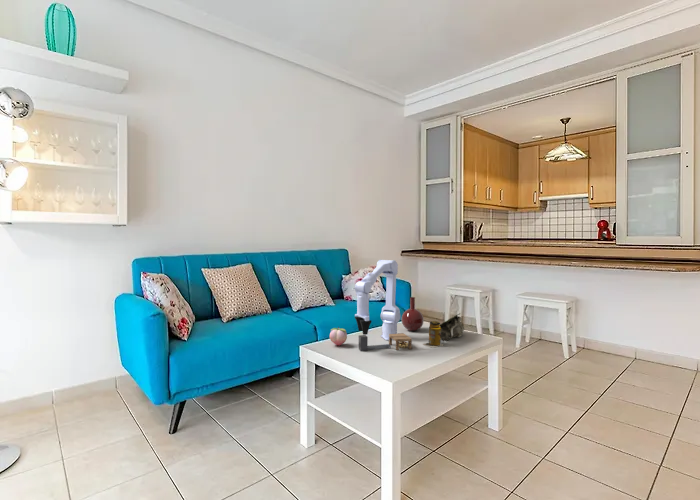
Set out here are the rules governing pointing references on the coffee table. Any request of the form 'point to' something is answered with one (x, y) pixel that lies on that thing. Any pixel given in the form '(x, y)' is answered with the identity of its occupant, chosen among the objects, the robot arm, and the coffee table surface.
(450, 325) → the hollow geode rock
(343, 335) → the decorative fruit
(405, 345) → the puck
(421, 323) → the round-bottom flask
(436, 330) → the condiment
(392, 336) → the stand
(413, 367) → the coffee table surface
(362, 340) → the dark grey mallet
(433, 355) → the coffee table surface
